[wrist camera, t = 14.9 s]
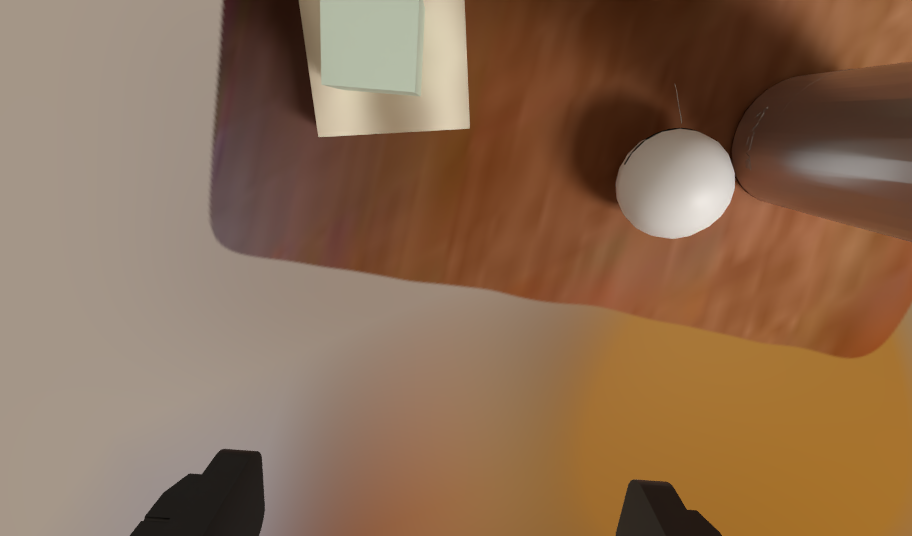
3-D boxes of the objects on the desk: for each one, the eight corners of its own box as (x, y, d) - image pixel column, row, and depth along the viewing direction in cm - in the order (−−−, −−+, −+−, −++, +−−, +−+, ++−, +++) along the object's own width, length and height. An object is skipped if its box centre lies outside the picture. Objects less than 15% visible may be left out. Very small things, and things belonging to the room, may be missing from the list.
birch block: (461, -29, 30) (462, -50, 27) (468, 127, 33) (469, 128, 30) (313, -20, 30) (293, -39, 27) (333, 135, 34) (318, 137, 30)
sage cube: (425, 8, 27) (419, -14, 23) (420, 96, 29) (415, 92, 24) (342, 1, 27) (319, -24, 23) (342, 89, 29) (321, 84, 24)
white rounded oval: (689, 227, 35) (746, 254, 28) (595, 222, 35) (629, 248, 28) (718, 91, 32) (791, 83, 25) (616, 85, 32) (660, 76, 25)
